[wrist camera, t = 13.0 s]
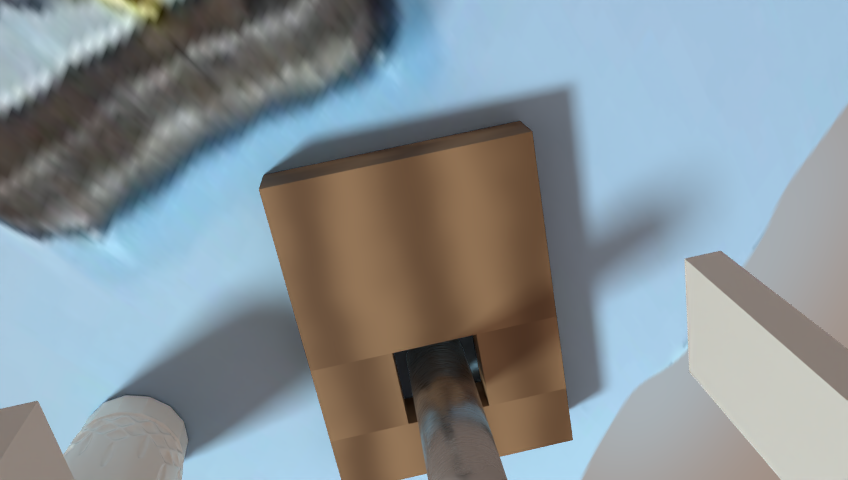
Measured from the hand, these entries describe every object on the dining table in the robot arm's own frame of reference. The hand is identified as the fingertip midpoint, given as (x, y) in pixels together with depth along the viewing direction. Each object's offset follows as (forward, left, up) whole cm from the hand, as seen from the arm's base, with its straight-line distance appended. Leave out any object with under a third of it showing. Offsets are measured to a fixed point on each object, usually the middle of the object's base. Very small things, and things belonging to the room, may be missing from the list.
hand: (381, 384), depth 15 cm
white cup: (-19, -19, -31) cm, 41 cm away
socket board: (+2, -14, -31) cm, 34 cm away
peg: (+2, -18, -31) cm, 36 cm away
